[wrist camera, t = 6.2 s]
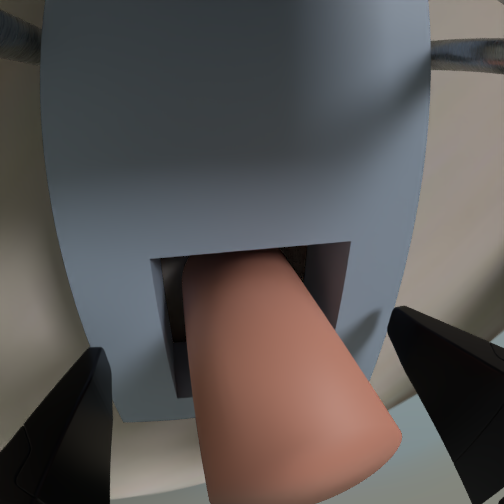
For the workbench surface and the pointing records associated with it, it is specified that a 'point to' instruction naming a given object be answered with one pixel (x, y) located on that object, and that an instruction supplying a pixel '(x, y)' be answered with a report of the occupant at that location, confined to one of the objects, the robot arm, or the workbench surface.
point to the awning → (442, 51)
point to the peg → (275, 386)
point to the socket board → (230, 161)
